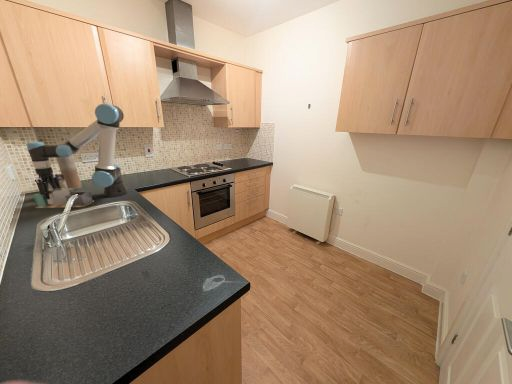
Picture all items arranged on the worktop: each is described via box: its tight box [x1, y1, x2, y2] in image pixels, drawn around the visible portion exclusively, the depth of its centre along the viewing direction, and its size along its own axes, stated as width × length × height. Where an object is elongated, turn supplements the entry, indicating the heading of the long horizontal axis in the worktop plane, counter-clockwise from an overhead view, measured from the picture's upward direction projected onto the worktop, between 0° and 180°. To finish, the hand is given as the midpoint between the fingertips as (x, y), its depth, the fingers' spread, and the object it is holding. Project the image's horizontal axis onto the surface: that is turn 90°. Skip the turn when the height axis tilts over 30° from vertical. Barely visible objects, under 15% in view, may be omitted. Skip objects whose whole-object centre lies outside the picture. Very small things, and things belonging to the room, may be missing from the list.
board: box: [34, 200, 95, 209], centre depth 134 cm, size 30×10×1 cm, turn 94°
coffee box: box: [44, 173, 67, 188], centre depth 147 cm, size 9×6×16 cm
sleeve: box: [65, 191, 94, 206], centre depth 134 cm, size 10×8×7 cm
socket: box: [32, 192, 46, 207], centre depth 132 cm, size 5×8×8 cm, turn 4°
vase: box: [55, 154, 83, 190], centre depth 163 cm, size 10×10×28 cm
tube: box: [43, 188, 77, 205], centre depth 132 cm, size 18×5×10 cm, turn 94°
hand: (55, 201), depth 133 cm, fingers closed on tube, 5 cm apart
